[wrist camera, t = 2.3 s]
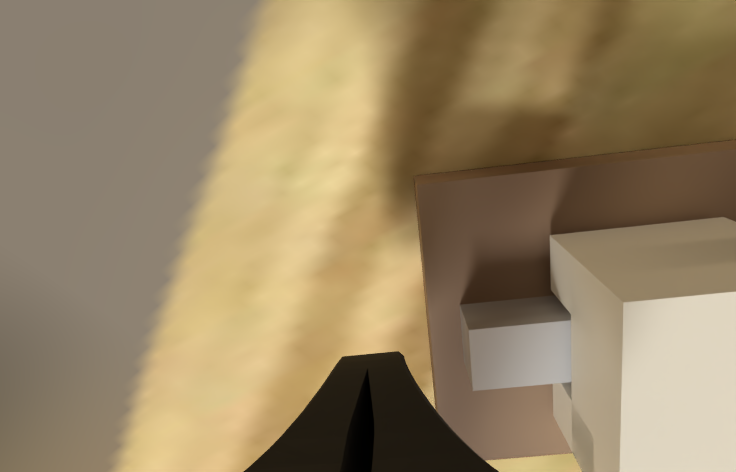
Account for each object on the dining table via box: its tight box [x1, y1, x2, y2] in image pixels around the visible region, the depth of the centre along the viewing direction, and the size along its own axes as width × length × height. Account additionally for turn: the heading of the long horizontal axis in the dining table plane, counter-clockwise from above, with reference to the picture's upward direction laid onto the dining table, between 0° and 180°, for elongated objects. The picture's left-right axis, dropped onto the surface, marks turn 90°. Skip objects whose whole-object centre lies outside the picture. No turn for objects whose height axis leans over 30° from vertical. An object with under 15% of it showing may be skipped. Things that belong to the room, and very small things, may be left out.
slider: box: [550, 217, 736, 472], centre depth 11 cm, size 4×5×4 cm
